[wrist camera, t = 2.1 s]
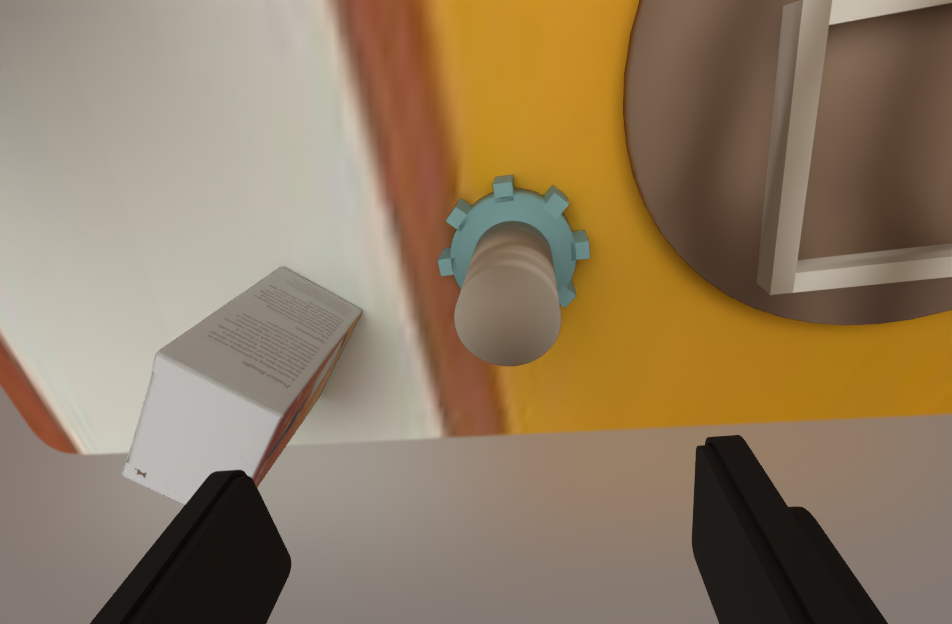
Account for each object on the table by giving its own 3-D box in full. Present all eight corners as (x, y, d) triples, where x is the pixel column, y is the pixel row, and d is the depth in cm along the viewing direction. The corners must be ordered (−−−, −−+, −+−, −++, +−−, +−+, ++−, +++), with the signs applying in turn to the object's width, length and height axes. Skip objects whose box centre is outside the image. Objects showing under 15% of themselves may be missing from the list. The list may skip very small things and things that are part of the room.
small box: (319, 398, 31) (230, 530, 22) (242, 359, 31) (115, 479, 21) (366, 308, 28) (285, 419, 19) (281, 261, 27) (151, 353, 18)
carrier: (1478, -486, 13) (1895, -738, 9) (1125, 286, 23) (1251, 327, 19) (613, -240, 17) (640, -342, 13) (629, 332, 27) (647, 375, 23)
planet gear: (580, 164, 23) (608, 204, 15) (589, 303, 26) (616, 397, 18) (431, 187, 24) (384, 235, 16) (457, 316, 28) (428, 410, 20)
